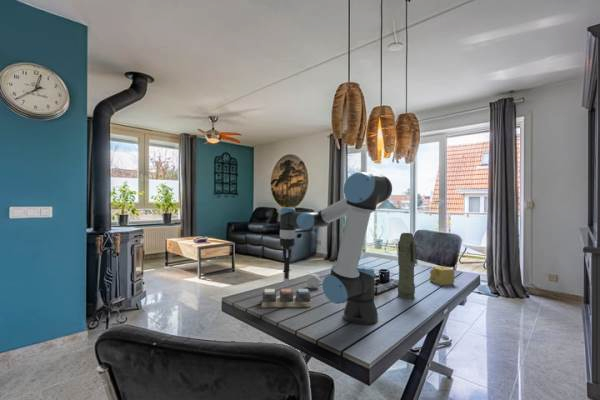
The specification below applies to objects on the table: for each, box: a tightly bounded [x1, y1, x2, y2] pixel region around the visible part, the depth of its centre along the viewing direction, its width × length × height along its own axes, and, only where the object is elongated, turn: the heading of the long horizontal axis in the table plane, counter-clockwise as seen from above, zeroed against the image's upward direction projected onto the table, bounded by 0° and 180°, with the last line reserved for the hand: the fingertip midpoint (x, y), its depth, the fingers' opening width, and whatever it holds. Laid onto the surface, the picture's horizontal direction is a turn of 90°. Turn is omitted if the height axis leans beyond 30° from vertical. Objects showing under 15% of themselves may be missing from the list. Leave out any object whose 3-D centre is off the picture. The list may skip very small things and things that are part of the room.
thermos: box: [397, 232, 417, 300], centre depth 158 cm, size 9×12×35 cm
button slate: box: [297, 288, 310, 294], centre depth 146 cm, size 5×5×3 cm
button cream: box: [263, 288, 276, 294], centre depth 145 cm, size 5×5×3 cm
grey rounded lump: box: [305, 273, 321, 289], centre depth 172 cm, size 8×9×10 cm
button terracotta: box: [281, 288, 292, 294], centre depth 145 cm, size 5×5×3 cm
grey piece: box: [261, 289, 312, 308], centre depth 145 cm, size 24×10×6 cm, turn 94°
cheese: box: [429, 265, 455, 286], centre depth 186 cm, size 10×11×10 cm
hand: (286, 284), depth 145 cm, fingers closed
